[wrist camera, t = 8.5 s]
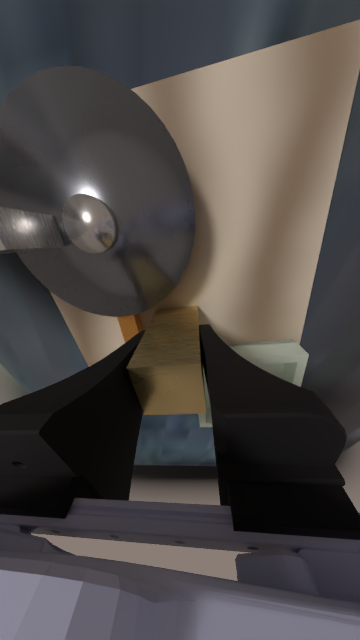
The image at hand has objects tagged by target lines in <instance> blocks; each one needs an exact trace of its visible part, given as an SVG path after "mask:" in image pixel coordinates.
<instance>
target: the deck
mask: <svg viewBox="0 0 360 640" xmlns="http://www.w3.org/2000/svg"><path fill="white" fill-rule="evenodd" d="M359 70H360V20H357V21H354V22H350V23H347V24H344V25H340V26H337V27H334V28H331V29H327V30H324V31H321V32H317V33H314V34H311V35H308V36H304V37H301V38H298V39H294V40H291V41H288V42H285V43H281V44H278V45H275V46H271V47H268V48H265V49H262V50H258V51H255V52H252V53H248V54H245V55H242V56H239V57H235V58H232V59H229V60H225V61H222V62H219V63H216V64H212V65H209V66H206V67H202V68H199V69H196V70H193V71H189V72H186V73H183V74H179V75H176V76H173V77H170V78H166V79H163V80H160V81H156V82H153V83H150V84H147V85H143V86H140V87H137V88H133V89H131V90H132V91H134V92H135V93H136V94H137V95H138V96H139V97H140V98H141V99H143V100H144V101H145V102H146V103H147V104H148V105H149V106H150V107H151V108H152V110H153V111H154V112H155V113H156V115H157V116H158V117H159V118H160V120H161V121H162V122H163V123H164V125H165V126H166V128H167V130H168V131H169V133H170V135H171V136H172V138H173V139H174V141H175V143H176V145H177V147H178V149H179V152H180V154H181V156H182V158H183V160H184V163H185V166H186V169H187V172H188V175H189V178H190V183H191V187H192V192H193V197H194V206H195V235H194V244H193V248H192V252H191V257H190V260H189V262H188V265H187V268H186V270H185V272H184V274H183V276H182V278H181V280H180V281H179V283H178V284H177V285H176V287H175V288H174V290H173V291H172V292H171V293H170V294H169V295H168V296H167V297H166V298H165V299H164V300H162V301H161V302H160V303H159V304H157V305H156V306H154V307H152V308H151V309H149V310H146V311H144V312H141V313H139V314H140V318H141V322H142V326H143V330H146V329H147V327H148V325H149V323H150V321H151V319H152V317H153V316H154V314H155V312H156V310H159V309H168V308H177V307H186V306H195V305H197V308H198V317H199V325H203V324H209V325H211V327H212V329H213V330H214V331H215V332H216V334H217V335H218V336H219V337H220V338H221V339H222V340H223V341H224V342H225V343H226V344H240V343H253V342H266V341H279V340H292V339H294V340H295V341H296V342H297V343H298V344H299V345H300V340H301V336H302V331H303V326H304V322H305V317H306V313H307V308H308V303H309V299H310V294H311V290H312V285H313V280H314V276H315V271H316V267H317V262H318V258H319V253H320V248H321V244H322V239H323V235H324V230H325V225H326V221H327V216H328V212H329V207H330V203H331V198H332V193H333V189H334V184H335V180H336V175H337V170H338V166H339V161H340V157H341V152H342V148H343V143H344V138H345V134H346V129H347V125H348V120H349V115H350V111H351V106H352V102H353V97H354V93H355V88H356V83H357V79H358V74H359ZM49 291H50V290H49ZM50 293H51V295H52V297H53V299H54V301H55V303H56V304H57V306H58V308H59V310H60V312H61V314H62V316H63V318H64V320H65V322H66V324H67V326H68V328H69V329H70V331H71V333H72V335H73V337H74V339H75V341H76V343H77V345H78V347H79V349H80V351H81V353H82V354H83V356H84V358H85V360H86V362H87V364H88V366H89V367H90V366H91V365H93V364H95V363H96V362H98V361H100V360H101V359H103V358H105V357H106V356H108V355H109V354H110V353H112V352H113V351H115V350H116V349H118V348H119V347H120V346H122V345H123V344H124V343H125V341H124V338H123V335H122V331H121V328H120V325H119V322H118V319H117V317H110V316H102V315H97V314H93V313H90V312H87V311H84V310H81V309H79V308H77V307H75V306H73V305H71V304H69V303H67V302H66V301H64V300H62V299H61V298H59V297H58V296H56V295H55V294H54V293H52V292H51V291H50Z"/></svg>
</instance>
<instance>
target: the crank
mask: <svg viewBox="0 0 360 640" xmlns="http://www.w3.org/2000/svg"><path fill="white" fill-rule="evenodd" d="M194 235H195V206H194V197H193V192H192V187H191V183H190V178H189V175H188V172H187V169H186V166H185V163H184V160H183V158H182V156H181V154H180V152H179V149H178V147H177V145H176V143H175V141H174V139H173V138H172V136H171V135H170V133H169V131H168V130H167V128H166V126H165V125H164V123H163V122H162V121H161V120H160V118H159V117H158V116H157V115H156V113H155V112H154V111H153V110H152V108H151V107H150V106H149V105H148V104H147V103H146V102H145V101H144V100H143V99H141V98H140V97H139V96H138V95H137V94H136V93H135V92H134V91H132V90H131V89H130V88H128V87H127V86H125V85H124V84H123V83H121V82H120V81H118V80H116V79H114V78H112V77H110V76H108V75H106V74H104V73H102V72H99V71H96V70H92V69H89V68H85V67H78V66H58V67H51V68H47V69H44V70H42V71H39V72H37V73H34V74H32V75H31V76H29V77H28V78H26V79H25V80H23V81H22V82H21V83H19V84H18V85H17V86H16V87H15V89H14V90H13V91H12V92H11V93H10V94H9V95H8V97H7V98H6V100H5V102H4V103H3V105H2V106H1V108H0V254H7V253H15V252H16V253H17V254H18V256H19V257H20V259H21V260H22V262H23V263H24V264H25V266H26V267H27V268H28V269H29V270H30V272H31V273H32V274H33V275H34V276H35V277H36V278H37V279H38V280H39V281H40V282H41V283H42V284H43V285H44V286H45V287H46V288H48V289H49V290H50V291H51V292H52V293H54V294H55V295H56V296H58V297H59V298H61V299H62V300H64V301H66V302H67V303H69V304H71V305H73V306H75V307H77V308H79V309H81V310H84V311H87V312H90V313H93V314H97V315H102V316H110V317H117V319H118V322H119V325H120V328H121V331H122V335H123V338H124V341H125V343H126V342H127V341H128V340H130V339H131V338H132V337H134V336H135V335H136V334H138V333H139V332H141V331H142V330H143V326H142V322H141V318H140V314H139V313H141V312H144V311H146V310H149V309H151V308H152V307H154V306H156V305H157V304H159V303H160V302H161V301H162V300H164V299H165V298H166V297H167V296H168V295H169V294H170V293H171V292H172V291H173V290H174V288H175V287H176V285H177V284H178V283H179V281H180V280H181V278H182V276H183V274H184V272H185V270H186V268H187V265H188V262H189V260H190V257H191V252H192V248H193V244H194Z"/></svg>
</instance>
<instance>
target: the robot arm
mask: <svg viewBox="0 0 360 640" xmlns="http://www.w3.org/2000/svg"><path fill="white" fill-rule="evenodd" d="M145 331H146V330H142V331H141V332H139V333H138V334H136V335H135V336H134V337H132V338H131V339H130V340H128V341H127V342H126V343H124V344H123V345H122V346H120V347H119V348H118V349H116V350H115V351H113V352H112V353H110V354H109V355H108V356H106V357H105V358H103V359H101V360H100V361H98V362H96V363H95V364H93V365H91V366H90V367H88V368H86V369H84V370H82V371H80V372H78V373H76V374H74V375H72V376H70V377H68V378H66V379H64V380H62V381H59V382H57V383H55V384H53V385H50V386H48V387H46V388H43V389H41V390H38V391H36V392H33V393H30V394H28V395H25V396H22V397H20V398H17V399H14V400H12V401H9V402H6V403H3V404H1V405H0V640H360V513H358V512H357V510H356V508H355V507H354V505H353V503H352V502H351V500H350V498H349V497H348V495H347V493H346V492H345V490H344V488H343V487H342V486H344V485H345V481H344V478H343V477H342V475H341V474H340V472H339V471H338V469H337V467H336V466H335V463H336V461H337V459H338V457H339V455H340V454H341V452H342V450H343V448H344V445H345V442H346V438H347V436H346V432H345V429H344V428H343V426H342V425H341V424H340V423H339V421H338V420H337V419H336V418H335V416H334V415H333V414H332V412H331V411H330V410H329V409H328V408H327V406H326V405H325V404H324V403H323V402H322V401H321V400H320V399H319V398H318V397H317V396H316V394H315V393H314V392H312V391H309V390H307V389H304V388H302V387H300V386H297V385H295V384H292V383H290V382H288V381H285V380H283V379H281V378H279V377H277V376H275V375H273V374H271V373H269V372H267V371H265V370H263V369H261V368H259V367H257V366H256V365H254V364H252V363H251V362H249V361H248V360H246V359H244V358H243V357H242V356H240V355H239V354H237V353H236V352H235V351H234V350H233V349H231V348H230V347H229V346H228V345H227V344H226V343H225V342H224V341H223V340H222V339H221V338H220V337H219V336H218V335H217V334H216V332H215V331H214V330H213V329H212V327H211V325H209V324H203V325H199V334H200V343H201V352H202V361H203V368H204V373H205V378H206V383H207V389H208V394H209V400H210V407H211V417H212V426H213V436H214V446H215V456H216V466H217V475H218V485H219V495H220V504H221V506H220V505H200V504H182V503H163V502H143V501H129V493H130V486H131V478H132V472H133V465H134V459H135V452H136V446H137V440H138V435H139V429H140V424H141V419H142V414H143V410H142V408H141V405H140V403H139V400H138V397H137V395H136V392H135V390H134V387H133V384H132V382H131V379H130V377H129V374H128V372H127V369H126V367H127V366H128V364H129V362H130V360H131V358H132V356H133V354H134V352H135V350H136V348H137V346H138V344H139V342H140V341H141V339H142V337H143V335H144V333H145ZM31 533H35V534H47V535H58V536H70V537H81V538H92V539H103V540H115V541H126V542H137V543H149V544H160V545H172V546H183V547H194V548H205V549H217V550H228V551H240V552H251V553H245V554H238V555H237V557H236V559H235V561H236V569H237V579H238V581H234V580H228V579H222V578H216V577H211V576H205V575H199V574H194V573H188V572H182V571H176V570H171V569H165V568H159V567H153V566H147V565H140V564H134V563H128V562H122V561H115V560H107V559H100V558H92V557H85V556H76V555H74V554H71V553H69V552H66V551H64V550H62V549H60V548H58V547H57V546H55V545H53V544H52V543H50V542H49V541H48V540H47V539H46V538H42V537H38V536H33V535H31Z"/></svg>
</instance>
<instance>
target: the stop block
mask: <svg viewBox="0 0 360 640" xmlns="http://www.w3.org/2000/svg"><path fill="white" fill-rule="evenodd" d="M126 369H127V372H128V374H129V377H130V379H131V382H132V384H133V387H134V390H135V392H136V395H137V397H138V400H139V403H140V405H141V408H142V410H143V413H144V415H164V414H207V411H206V398H205V385H204V372H203V361H202V352H201V343H200V334H199V317H198V308H197V305H195V306H186V307H177V308H168V309H159V310H156V312H155V314H154V316H153V317H152V319H151V321H150V323H149V325H148V327H147V329H146V331H145V333H144V335H143V337H142V339H141V341H140V342H139V344H138V346H137V348H136V350H135V352H134V354H133V356H132V358H131V360H130V362H129V364H128V366H127V367H126Z"/></svg>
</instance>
